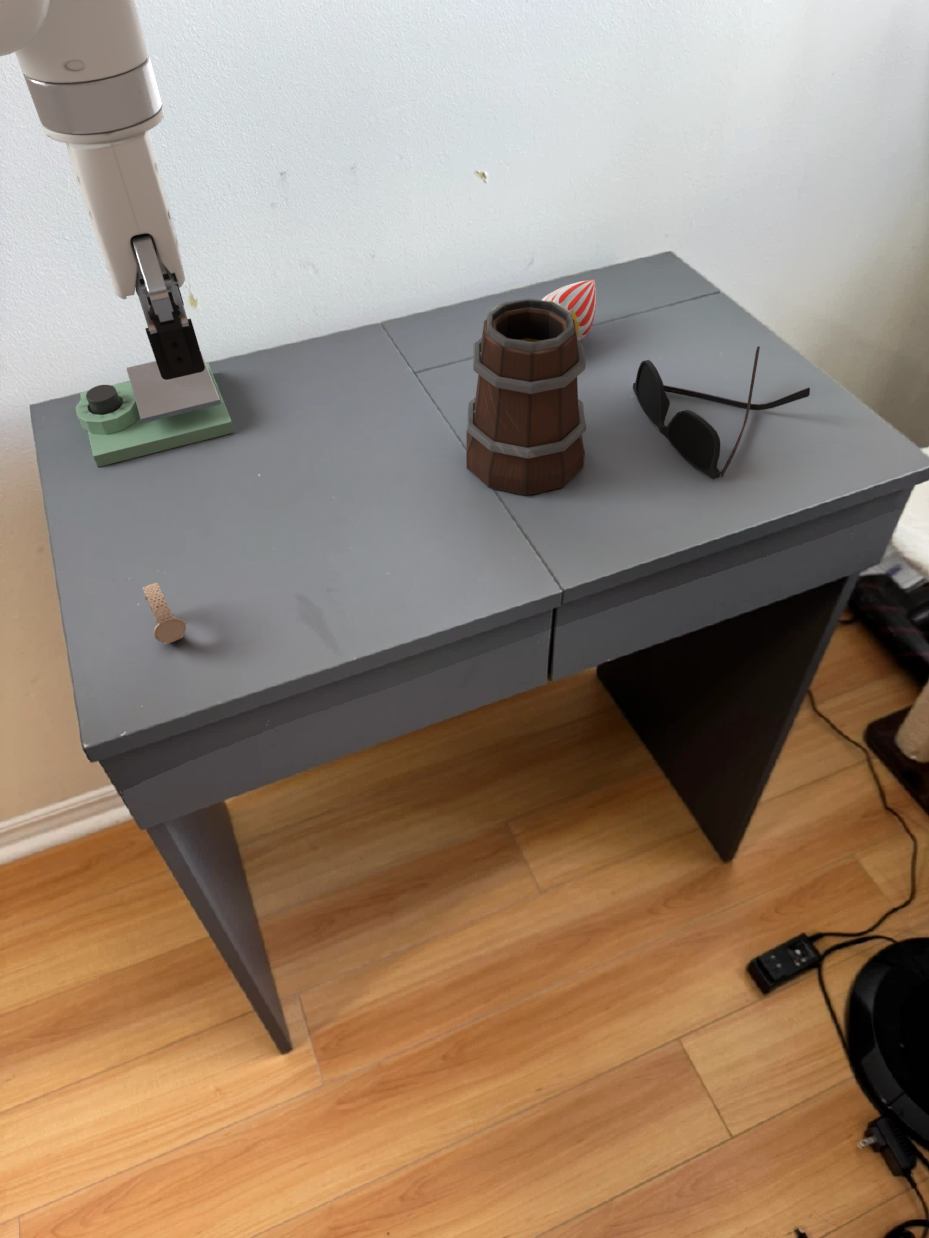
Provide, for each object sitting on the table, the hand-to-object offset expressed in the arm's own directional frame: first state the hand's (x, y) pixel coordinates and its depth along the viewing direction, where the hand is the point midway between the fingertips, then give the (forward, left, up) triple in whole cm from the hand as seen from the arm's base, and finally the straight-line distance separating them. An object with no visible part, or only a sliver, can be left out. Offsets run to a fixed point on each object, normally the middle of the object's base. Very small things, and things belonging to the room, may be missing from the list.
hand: (173, 340), depth 68 cm
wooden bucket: (+30, 0, -19) cm, 35 cm away
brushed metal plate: (-1, +20, -16) cm, 25 cm away
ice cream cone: (+40, +14, -19) cm, 46 cm away
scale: (-3, +20, -19) cm, 28 cm away
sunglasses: (+51, -5, -19) cm, 54 cm away
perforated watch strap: (-7, -11, -19) cm, 24 cm away
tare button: (-8, +20, -17) cm, 27 cm away
